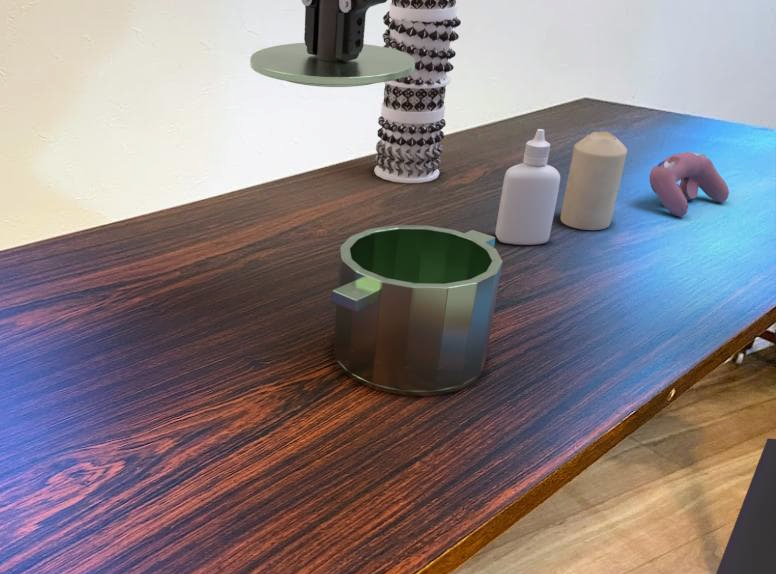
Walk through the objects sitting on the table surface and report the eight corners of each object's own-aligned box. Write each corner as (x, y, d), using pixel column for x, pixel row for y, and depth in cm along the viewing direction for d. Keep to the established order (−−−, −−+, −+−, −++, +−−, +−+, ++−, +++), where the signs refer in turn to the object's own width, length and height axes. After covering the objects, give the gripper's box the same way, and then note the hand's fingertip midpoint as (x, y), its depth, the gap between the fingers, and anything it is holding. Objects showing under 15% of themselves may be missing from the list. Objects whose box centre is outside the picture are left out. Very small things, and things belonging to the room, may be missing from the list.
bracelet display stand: (407, 189, 114) (429, -31, 100) (356, 170, 120) (371, -39, 106) (457, 175, 118) (484, -37, 105) (405, 157, 124) (425, -45, 111)
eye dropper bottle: (502, 228, 102) (519, 121, 96) (552, 238, 100) (573, 128, 93) (490, 241, 99) (507, 131, 93) (541, 251, 97) (563, 139, 90)
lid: (447, 74, 76) (456, -6, 73) (338, 102, 68) (343, 14, 65) (326, 49, 84) (329, -24, 81) (216, 72, 77) (215, -8, 73)
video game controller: (697, 206, 113) (687, 149, 111) (733, 199, 109) (723, 141, 107) (649, 222, 108) (638, 164, 107) (684, 216, 104) (674, 155, 103)
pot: (530, 349, 79) (550, 246, 74) (399, 427, 68) (412, 314, 63) (414, 302, 87) (425, 206, 81) (281, 366, 76) (284, 261, 71)
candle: (613, 232, 101) (634, 143, 96) (562, 229, 102) (580, 140, 97) (606, 214, 106) (625, 128, 100) (557, 212, 107) (573, 126, 101)
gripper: (455, -192, 64) (427, 63, 73) (311, -190, 73) (302, 38, 82) (388, -193, 60) (367, 78, 69) (243, -191, 68) (242, 50, 78)
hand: (332, 55), depth 76 cm, fingers closed on lid, 2 cm apart
